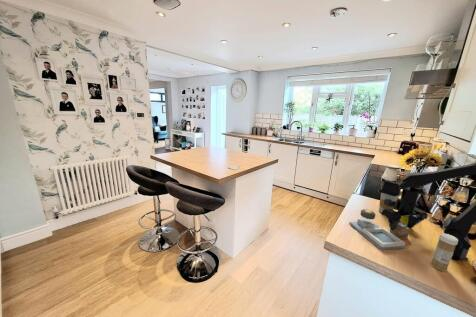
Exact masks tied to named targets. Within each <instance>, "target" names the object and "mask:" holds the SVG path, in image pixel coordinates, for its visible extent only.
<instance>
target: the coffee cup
mask: <svg viewBox="0 0 476 317" xmlns="http://www.w3.org/2000/svg"><path fill="white" fill-rule="evenodd" d="M381 191H382V189H381ZM381 191H380V193H381ZM399 197H400V194H399V195H397V196H396V197H395V196H391V195H387V194H383V193H381V194H380V199H379V205H378V206H379V207H378V212H380V213H381V214H382V211H383V209H392V210H394V211H395V209H394V207H387V205H385V204H384V201H385V199H391V200H398V199H399Z"/></svg>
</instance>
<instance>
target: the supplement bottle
mask: <svg viewBox="0 0 476 317" xmlns="http://www.w3.org/2000/svg"><path fill="white" fill-rule="evenodd" d="M408 218H409V217H408V216H401V219H400V222H399V223H402V224H403V225H405V226H406V227H407V223H408Z"/></svg>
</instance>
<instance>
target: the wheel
mask: <svg viewBox="0 0 476 317" xmlns="http://www.w3.org/2000/svg"><path fill="white" fill-rule="evenodd" d="M360 216H361V217H362V218H367V219H369V220H375V217H376V213H375V212H374V211H373V210H369V209H364V208H363V209H361V210H360Z"/></svg>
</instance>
